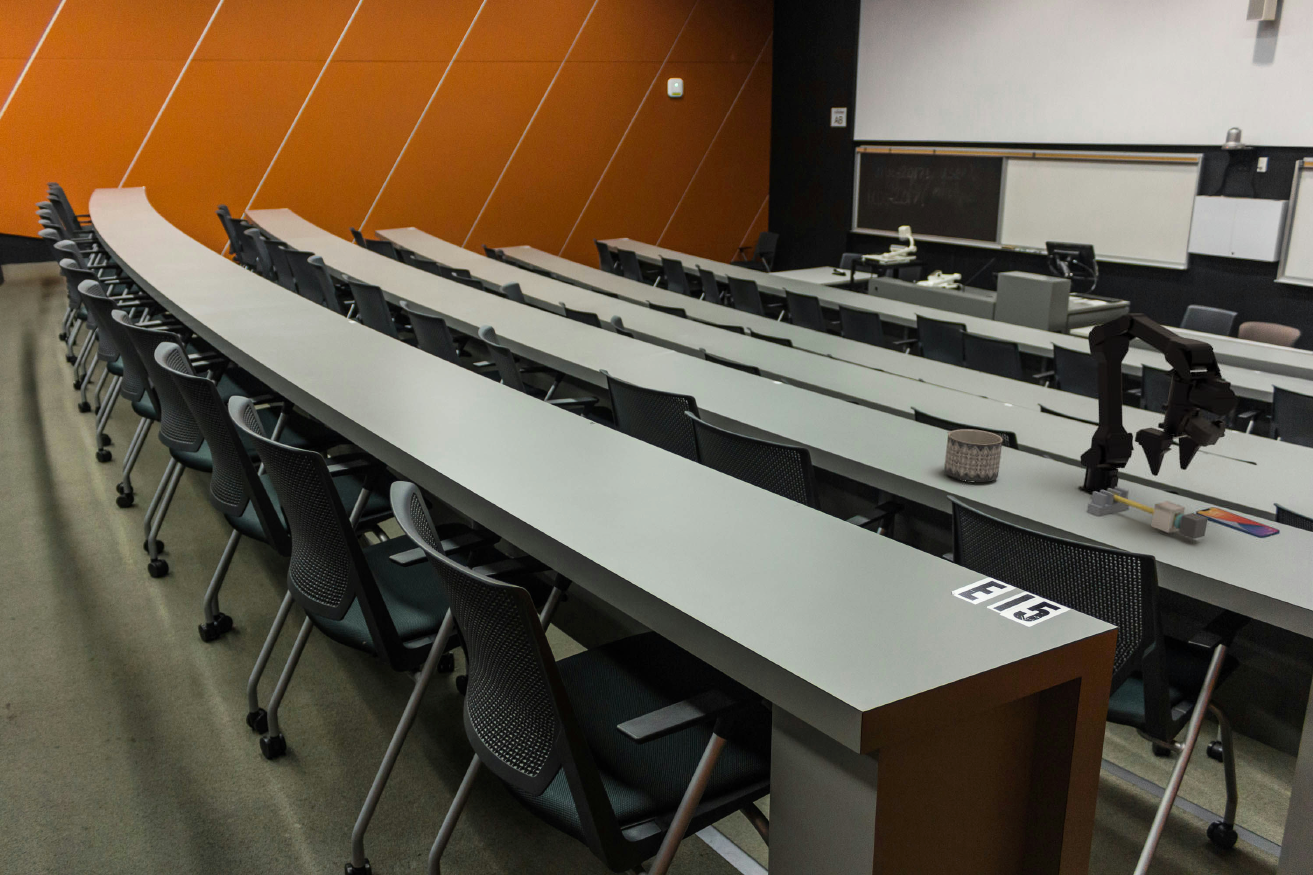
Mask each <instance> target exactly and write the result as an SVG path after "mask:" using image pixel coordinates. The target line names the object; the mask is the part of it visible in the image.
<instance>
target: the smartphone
mask: <svg viewBox="0 0 1313 875" xmlns="http://www.w3.org/2000/svg"><path fill="white" fill-rule="evenodd" d="M1195 514H1198V515H1201V516H1204V517H1206V518H1208V520H1207V521H1210V522H1212V523H1215V524H1218V525H1221V526H1224V527H1227V528H1229V529H1233V530H1235V531H1238V532H1240V533H1244V534H1248V535H1249V536H1253V537H1256V538H1259V539H1264V538H1268V537H1271V536H1275V535H1278V534H1280V529H1278V528H1274V527H1273V526H1269V525H1267V524H1264V523H1261V522H1258V521H1255V520H1253V519H1249V518H1247V517H1244V516H1241V515H1239V514H1237V513H1236V514H1235V513H1233V512H1230V511H1228V510H1224V509H1221V508H1219V507H1208V508H1204V509H1200V510H1196V511H1195Z"/></svg>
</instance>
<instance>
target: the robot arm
mask: <svg viewBox="0 0 1313 875" xmlns="http://www.w3.org/2000/svg"><path fill="white" fill-rule="evenodd" d="M1135 339H1138V340H1140V341H1142V342H1144V343H1145V344H1147V345H1149V346H1150V347H1151V348H1154V349H1155V350H1157V351H1158V352H1160V353H1161V354H1162V355H1163V356H1164V359H1165V361H1166V363H1168V364H1169V365H1170V367H1172V368H1171V369H1169V370H1167V371H1166V372H1165V373H1164V376H1166V377H1168V378H1171V383H1170V387H1169V393H1168V399H1167V402H1166V403H1163V404H1162V405H1161V410H1164V411H1165V414H1164V417H1163V418H1164V419H1163V422H1158V425H1157V428H1159V429H1157V428H1154V427H1147V428H1142V429H1139V430H1137V431H1136V432H1135V437H1134V434H1133V433H1132V432H1128V431H1127V430H1126V428H1125V427H1124V425H1123V422H1124V420H1123V419H1124V418H1123V379H1122V378H1123V376H1122V375H1123V374H1122V373H1123V371H1122V366H1123V365H1122V363H1123V361H1124V360H1125V357H1126V356H1127V354H1128V352H1129V350H1130V342H1132V341H1133V340H1135ZM1088 346H1089V352H1090V355H1091V356H1092V358H1093V360H1094V361H1095V362H1096V364H1097V396H1098V398H1097V399H1098V401H1097V402H1098V426H1097V428H1096V430H1095V432H1094V433H1093V435H1092V436H1091V443H1090V444H1091V445H1090V448H1088V449H1087V450H1086V451H1084V452H1083V453H1082V454H1080V456H1079V458H1080V464H1081V466H1083V467H1086V468H1085V473H1084V479H1083V480H1084V481H1083V485H1080V486H1078V489H1079V490H1082V491H1083V492H1087V493H1089V494H1092V495H1093V492H1094V491H1096V492H1099V493H1100V490H1105V491H1107V489H1108V488H1111V489H1114V488H1115V487H1118V484H1119V475H1118V474H1119V469H1125V468H1126V466H1127V465H1128V462H1129V461H1130V459H1131V458H1132V455H1133V451H1134V450H1135V448H1134V444H1133V443H1134V442H1135V443H1137V444H1138V446H1140V447H1141V448H1142V451H1143V453H1144V455H1145V458H1146V462H1147V464H1148V466H1149V470H1150V472H1151V474H1152V476H1155V477H1157V476H1158V475H1159V473H1160V470H1161V466H1162V463H1163V460H1164V457H1165V454H1166V453H1168V452H1170V451H1171V450H1172V448H1171V446H1172V445H1173V443H1174V440H1175V439H1178V455H1179V460H1178V461H1179V467H1180V470H1183V471H1187V469H1188V467H1189V466H1190V464H1191V462H1192V460H1193V459H1194V457H1195V456H1196V454H1197V453H1198V451H1199V449H1201V448H1202V447H1204V448H1206V447H1208V446H1215V445H1216V444H1217V442H1218V441H1219V440H1220V438H1224V437H1225V436H1226V427H1227V423H1226V422H1225V421H1224V420H1223V419H1221V418H1219V419H1214V420H1213V421H1212V419H1205V417H1203V414H1204V412H1207V413H1210V414H1213V415H1215V416H1217V417H1222V416H1226V415H1227V414H1229V413H1230V412H1232V411H1233V409H1234V408H1235V406H1236V403H1237V396H1236V394H1235V391H1234V390H1233V389H1232V388H1231V387H1232V386H1231V385H1232V383H1231V381H1227V380H1222V378H1223V376H1222V373H1221V369H1220V367H1219V364H1218V360H1217V358H1216V355H1215V352H1214V347H1213V346H1212V344H1210V343H1208V342H1206V341H1202V340H1199V339H1194V338H1190V337H1183V336H1180V335H1179V334H1177V333H1175V332H1173V331H1171V330H1170V329H1168V328H1166V327H1165V326H1163V325H1161V324H1159V323H1157V322H1156V321H1154V320H1152V319H1151V318H1149V317H1148V316H1147V315H1146V314H1144V313H1126V314H1124V315H1121V316H1120V317H1118V318H1116V319H1112V320H1110V321H1108V322H1104V323H1102V324H1097V325H1095V326H1093V327H1092V329H1091V330H1090V331H1089V332H1088ZM1133 439H1134V440H1133ZM1133 441H1134V442H1133Z"/></svg>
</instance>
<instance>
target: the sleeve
mask: <svg viewBox="0 0 1313 875" xmlns="http://www.w3.org/2000/svg"><path fill="white" fill-rule="evenodd" d="M1185 511H1186V507H1185V506H1183V505H1179V504H1177V503H1175V502H1172V501H1168V500H1167V501H1163V502H1159V503H1155V504H1154V514H1152V521H1151V527H1152V528H1155V529H1158V530H1161V531H1162V532H1163V531H1164V532H1166V533H1168V534H1169V533H1172V532H1178V531H1179V530H1180V529H1178V528H1175V526H1174V522H1173V521H1174V516H1176V517H1177V516H1178V515H1179V514H1184V515H1185Z"/></svg>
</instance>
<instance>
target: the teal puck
mask: <svg viewBox="0 0 1313 875" xmlns="http://www.w3.org/2000/svg"><path fill="white" fill-rule="evenodd" d="M1183 515H1185V513H1184V514H1179V515H1178V516H1177V517H1176V519H1175V521H1174V526H1175V528H1178V529H1180V521H1181V519H1182V516H1183Z"/></svg>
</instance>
